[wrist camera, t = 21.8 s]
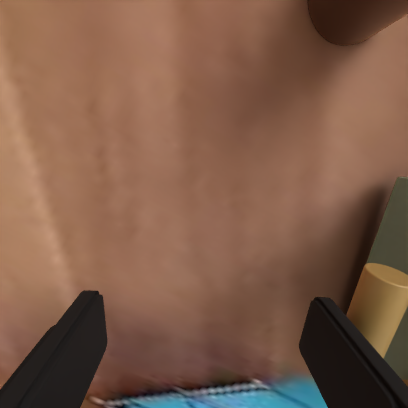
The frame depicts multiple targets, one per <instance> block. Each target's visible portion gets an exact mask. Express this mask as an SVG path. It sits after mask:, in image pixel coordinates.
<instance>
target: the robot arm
mask: <svg viewBox="0 0 408 408" xmlns="http://www.w3.org/2000/svg"><path fill="white" fill-rule="evenodd" d="M106 347H107V332H106V322H105V312H104V303H103V296H102V295H99V292H98V291H82V292H81V293H80V294H79V296H78V297H77V298H76V300H75V301H74V302H73V303H72V305H71V306H70V307H69V309H68V310H67V311H66V312H65V314H64V315H63V316H62V318H61V319H60V320H59V321H58V323H57V324H56V325H54V326H53V327H51V328H50V329H49V330H48V331H47V332H46V333H45V335H44V336H43V337H42V338H41V340H40V341H39V342H38V343H37V344H36V346H35V347H34V348H33V349H32V351H31V352H30V353H29V354H28V356H27V357H26V358H25V359H24V361H23V362H22V363H21V364H20V366H19V367H18V368H17V369H16V371H15V372H14V373H13V374H12V376H11V377H10V378H9V379H8V381H7V382H6V383H5V384H4V386H3V387H2V388H1V389H0V408H80V407H81V404H82V402H83V400H84V398H85V395H86V393H87V391H88V388H89V386H90V384H91V382H92V379H93V377H94V375H95V373H96V370H97V368H98V366H99V364H100V361H101V359H102V357H103V355H104V352H105V350H106ZM299 349H300V352H301V355H302V357H303V359H304V361H305V363H306V365H307V367H308V369H309V371H310V373H311V375H312V377H313V379H314V381H315V383H316V385H317V387H318V389H319V391H320V393H321V395H322V397H323V399H324V401H325V403H326V405H327V407H328V408H408V386H407V385H406V384H405V383H404V382H403V380H402V379H401V378H400V377H399V376H398V375H397V374H396V372H395V371H394V370H393V369H392V368H391V367H390V366H389V364H388V363H387V362H386V361H385V360H384V359H383V358H382V356H381V355H380V354H379V353H378V352H377V351H376V349H375V348H374V347H373V346H372V345H371V344H370V343H369V341H368V340H367V339H366V338H365V337H364V336H363V335H362V333H361V332H360V331H359V330H358V329H357V328H356V327H355V325H354V324H353V323H352V322H351V321H350V320H349V319H348V317H347V316H346V315H345V314H344V313H343V312H342V310H341V309H340V308H339V307H338V306H337V305H336V304H335V302H334V301H333V300H332V299H331V298H329V297H315V298H314V300H313V301H311V303H310V306H309V310H308V314H307V317H306V321H305V324H304V328H303V331H302V335H301V339H300V342H299Z"/></svg>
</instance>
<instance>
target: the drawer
mask: <svg viewBox="0 0 408 408" xmlns="http://www.w3.org/2000/svg"><path fill="white" fill-rule="evenodd" d="M346 316H347V317H348V319H349V320H350V321H351V322H352V323H353V324H354V325H355V327H356V328H357V329H358V330H359V331H360V332H361V333H362V335H363V336H364V337H365V338H366V339H367V340H368V341H369V343H370V344H371V345H372V346H373V347H374V348H375V349H376V351H377V352H378V353H379V354H380V355H381V356H382V358H383V359H384V360H385V361H386V362H387V363H388V364H389V366H390V367H391V368H392V369H393V370H394V371H395V372H396V374H397V375H398V376H399V377H400V378H401V379H402V380H403V382H404V383H405V384H406V385H407V386H408V177H397V179H396V182H395V185H394V188H393V190H392V193H391V196H390V199H389V202H388V204H387V207H386V210H385V213H384V215H383V218H382V221H381V224H380V227H379V229H378V232H377V235H376V238H375V240H374V243H373V246H372V249H371V251H370V254H369V257H368V260H367V263H366V265H364V268H363V270H362V273H361V276H360V279H359V282H358V284H357V287H356V290H355V293H354V296H353V298H352V301H351V304H350V307H349V309H348V312H347V315H346Z"/></svg>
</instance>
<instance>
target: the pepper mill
mask: <svg viewBox="0 0 408 408" xmlns="http://www.w3.org/2000/svg"><path fill="white" fill-rule="evenodd" d="M308 5H309V11H310V15H311V19H312V21H313V23H314V26H315V27H316V29H317V30H318V32H319V33H320V34H321V35H322V36H323V37H324V38H325V39H327V40H328V41H330V42H332V43H335V44H338V45H353V44H357V43H360V42H362V41H365V40H366V39H368V38H370V37H371V36H373V35H375V34H376V33H378V32H379V31H381V30H383V29H384V28H386V27H387V26H389V25H391V24H392V23H394V22H395V21H397V20H399V19H400V18H402V17H404V16H405V15H407V14H408V0H308Z"/></svg>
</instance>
